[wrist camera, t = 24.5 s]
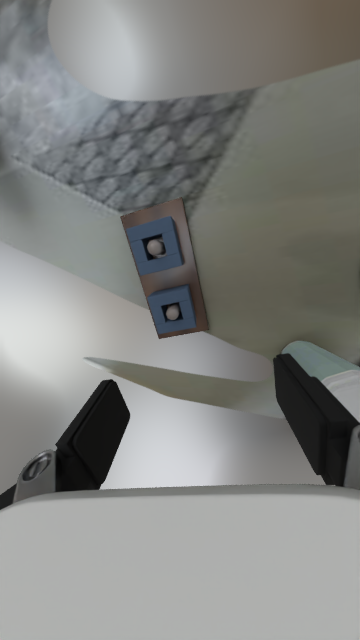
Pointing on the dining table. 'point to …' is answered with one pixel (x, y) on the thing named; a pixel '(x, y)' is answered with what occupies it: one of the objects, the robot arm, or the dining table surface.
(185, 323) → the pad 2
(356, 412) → the disposable coffee cup
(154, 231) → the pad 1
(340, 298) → the dining table surface
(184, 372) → the dining table surface
